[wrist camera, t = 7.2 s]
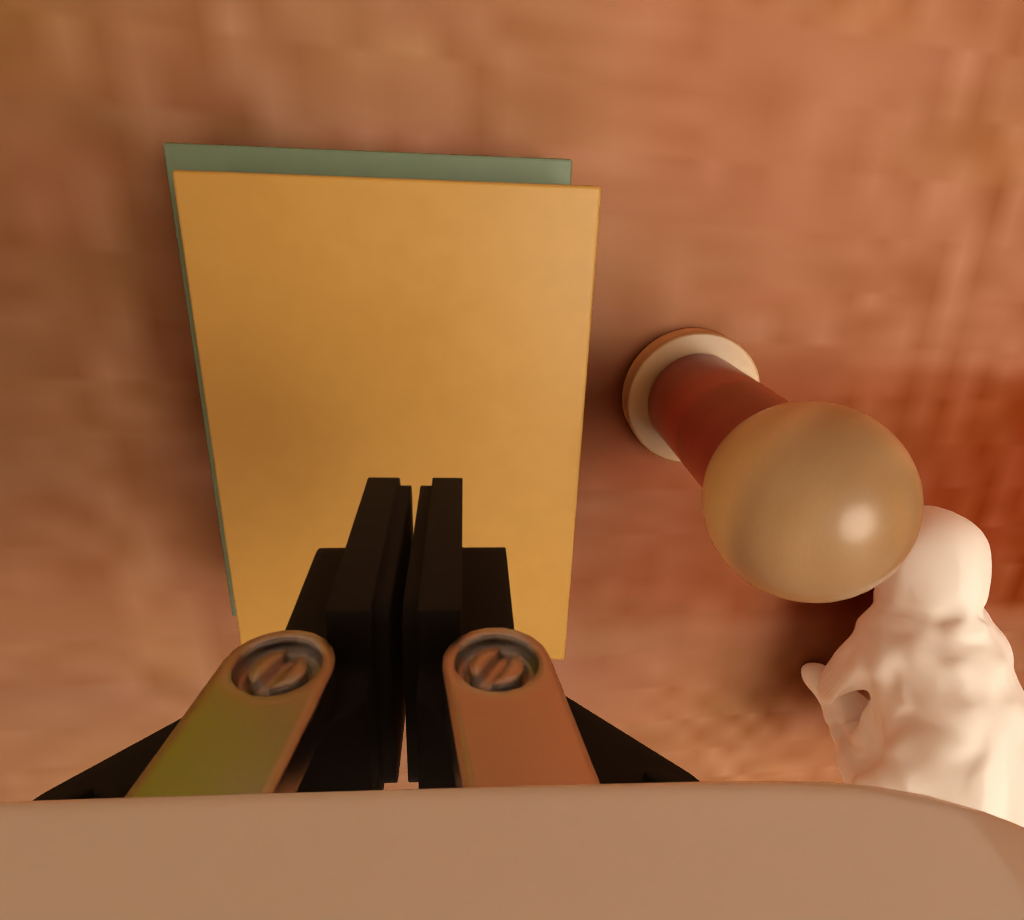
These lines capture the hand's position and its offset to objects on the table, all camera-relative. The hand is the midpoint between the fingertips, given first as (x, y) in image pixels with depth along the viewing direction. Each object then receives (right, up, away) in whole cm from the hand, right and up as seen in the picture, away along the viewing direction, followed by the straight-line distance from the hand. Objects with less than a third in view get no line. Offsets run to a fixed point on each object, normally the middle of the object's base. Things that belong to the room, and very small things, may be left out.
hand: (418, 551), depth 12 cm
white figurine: (+17, -5, +17) cm, 25 cm away
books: (-2, +4, +12) cm, 13 cm away
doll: (+6, +4, +12) cm, 14 cm away
